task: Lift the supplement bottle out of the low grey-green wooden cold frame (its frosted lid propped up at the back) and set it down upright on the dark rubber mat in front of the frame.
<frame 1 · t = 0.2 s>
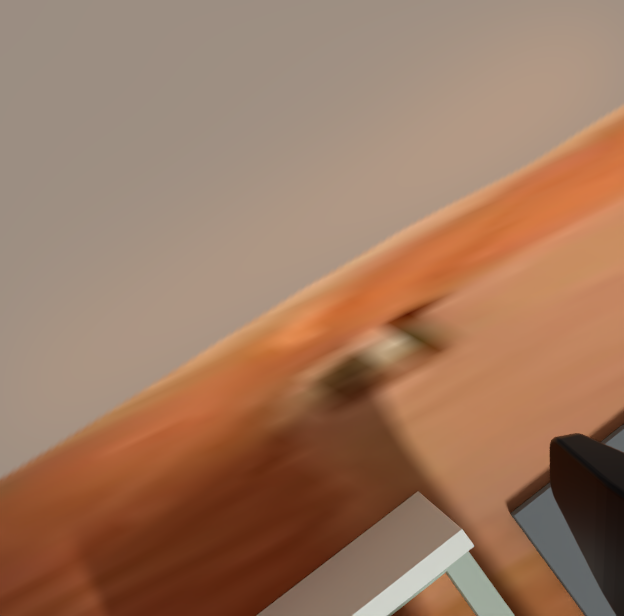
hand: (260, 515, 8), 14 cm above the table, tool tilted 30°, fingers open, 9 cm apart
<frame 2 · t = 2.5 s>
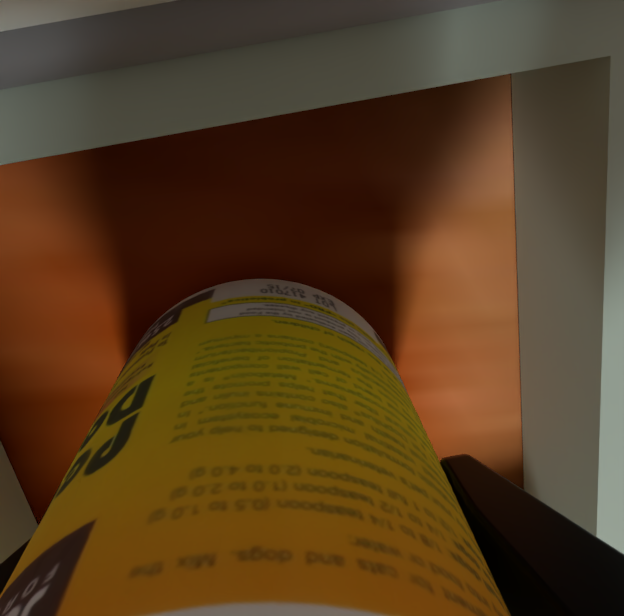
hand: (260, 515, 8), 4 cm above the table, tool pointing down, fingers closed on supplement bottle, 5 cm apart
cold frame: (262, 396, 12), on the table
supplement bottle: (262, 391, 12), resting in cold frame, touching gripper
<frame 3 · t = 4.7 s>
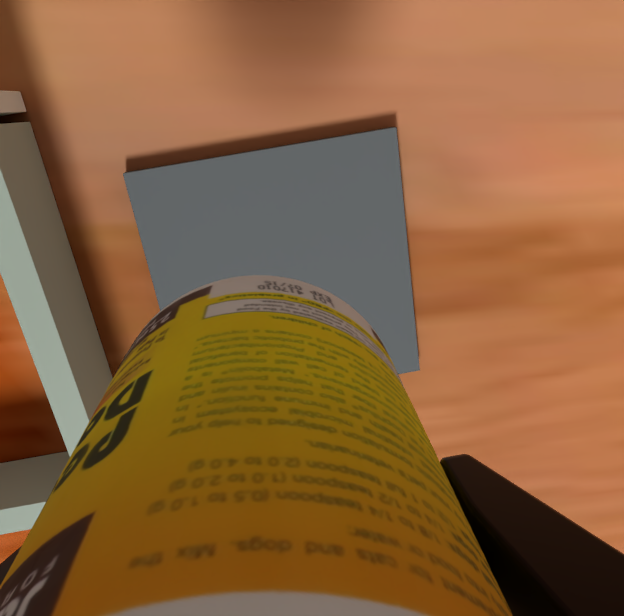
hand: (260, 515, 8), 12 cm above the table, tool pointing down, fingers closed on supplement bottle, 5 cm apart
supplement bottle: (259, 389, 12), point 9 cm above the table, touching gripper
mat: (283, 277, 20), on the table
when the fingers open (5 cm above the table, at t = 6.9 s): supplement bottle stays where it is, resting on mat.
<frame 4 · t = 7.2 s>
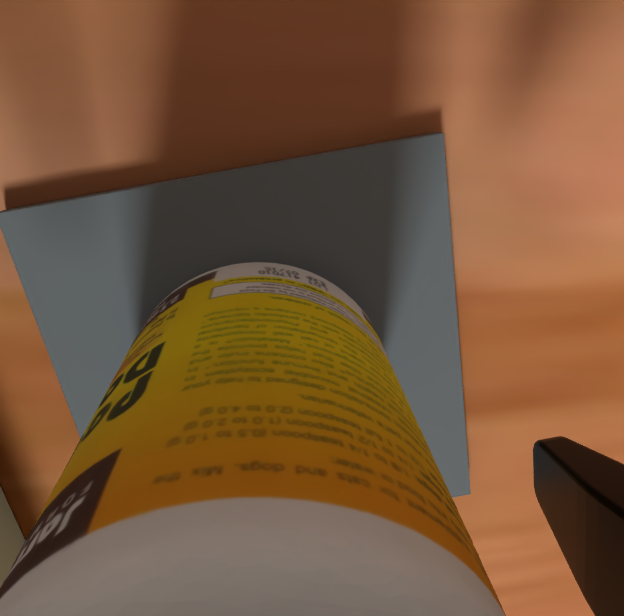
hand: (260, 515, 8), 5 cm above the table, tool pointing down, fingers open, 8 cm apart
supplement bottle: (259, 368, 13), resting on mat
mat: (264, 364, 13), on the table
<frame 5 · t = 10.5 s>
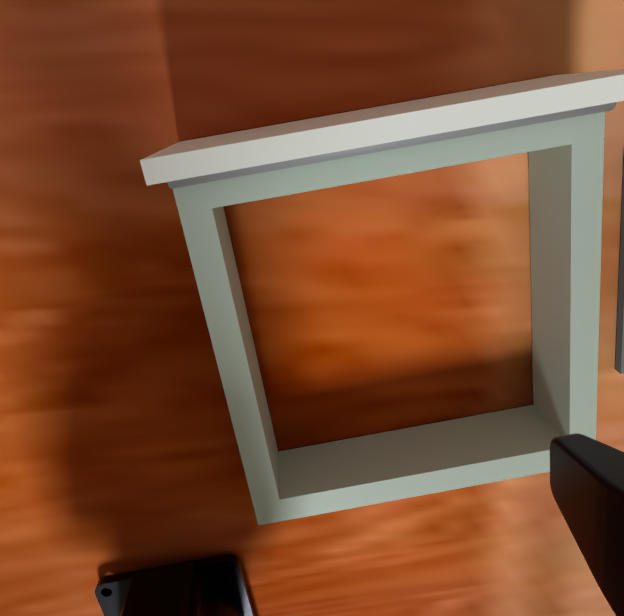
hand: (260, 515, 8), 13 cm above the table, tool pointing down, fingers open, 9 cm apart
cold frame: (391, 308, 21), on the table
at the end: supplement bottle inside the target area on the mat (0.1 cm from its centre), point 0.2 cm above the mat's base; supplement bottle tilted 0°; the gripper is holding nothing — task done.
